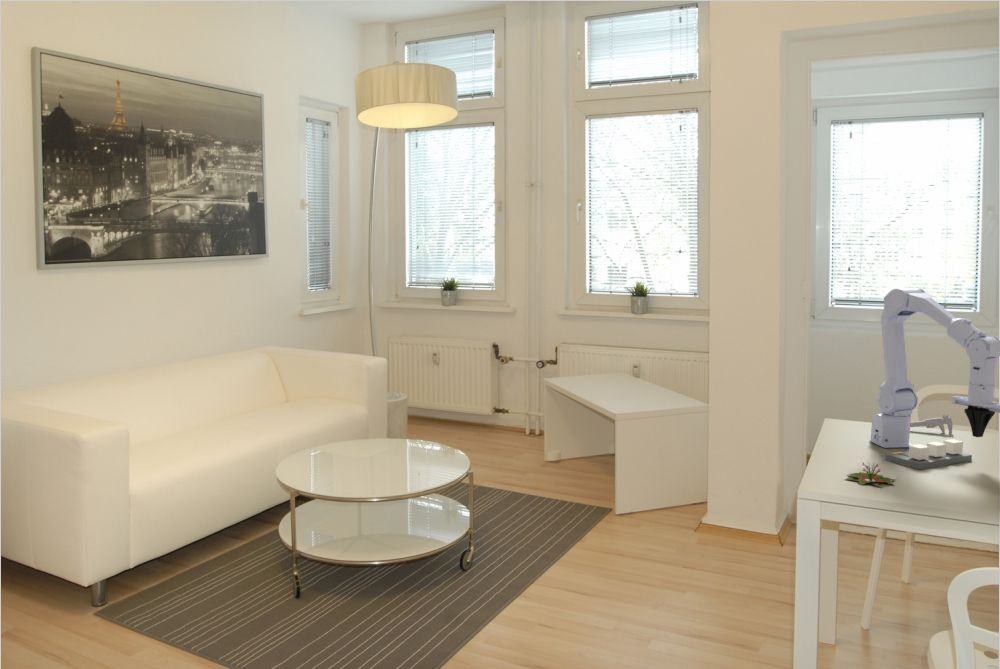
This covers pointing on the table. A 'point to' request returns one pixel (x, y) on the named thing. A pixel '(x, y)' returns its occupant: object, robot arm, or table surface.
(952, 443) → the tab
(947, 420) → the caliper
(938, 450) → the tab
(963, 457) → the switch panel
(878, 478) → the lily flower
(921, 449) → the light grey block
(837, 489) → the table surface
